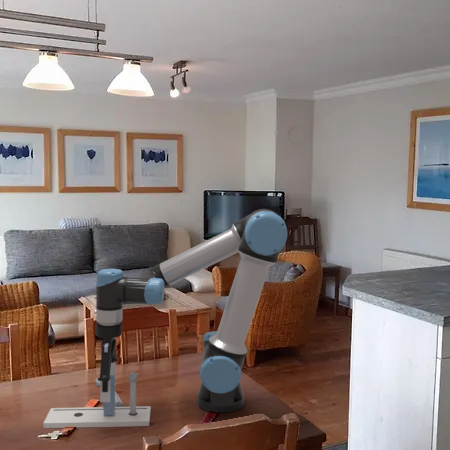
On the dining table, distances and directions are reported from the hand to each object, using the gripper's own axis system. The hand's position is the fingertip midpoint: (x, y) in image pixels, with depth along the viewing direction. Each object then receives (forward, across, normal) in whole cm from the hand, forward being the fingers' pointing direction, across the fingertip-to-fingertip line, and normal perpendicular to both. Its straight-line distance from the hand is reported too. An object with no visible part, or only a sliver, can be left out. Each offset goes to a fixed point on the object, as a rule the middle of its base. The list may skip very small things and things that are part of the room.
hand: (108, 392), depth 164 cm
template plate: (+8, 0, -2) cm, 9 cm away
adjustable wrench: (+9, -20, -2) cm, 22 cm away
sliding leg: (+6, 0, 0) cm, 6 cm away
